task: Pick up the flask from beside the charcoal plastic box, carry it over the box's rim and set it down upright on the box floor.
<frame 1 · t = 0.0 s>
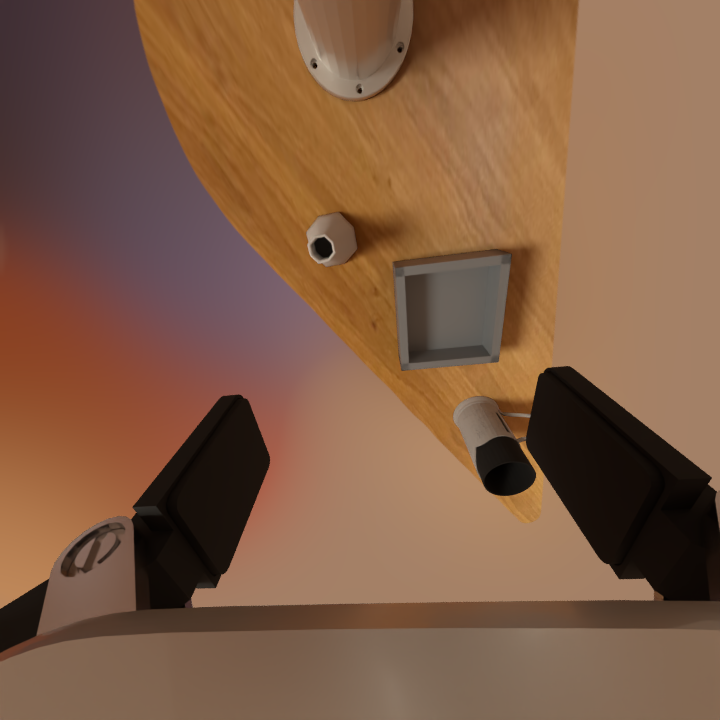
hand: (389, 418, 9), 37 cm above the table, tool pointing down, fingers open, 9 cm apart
grey mug: (488, 407, 54), on the table
flask: (332, 240, 41), on the table
charcoal box: (442, 307, 45), on the table
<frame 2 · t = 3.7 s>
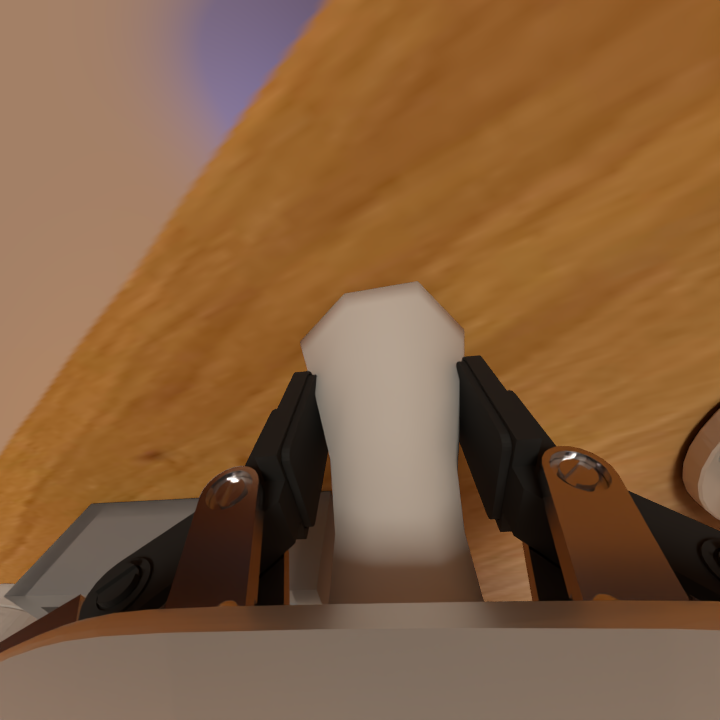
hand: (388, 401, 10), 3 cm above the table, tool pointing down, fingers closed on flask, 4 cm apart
grey mug: (69, 615, 27), on the table
flask: (384, 360, 13), on the table, touching gripper
charcoal box: (243, 562, 21), on the table
when the fingers open (6 cm above the table, at t = 10.0 s): flask drops 2 cm, resting on charcoal box.
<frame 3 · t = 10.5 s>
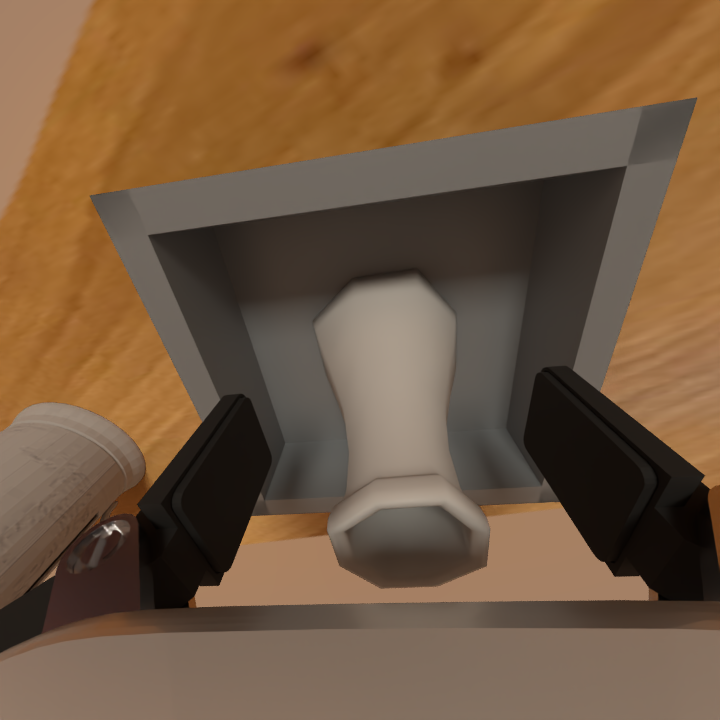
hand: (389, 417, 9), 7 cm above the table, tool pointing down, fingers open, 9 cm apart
grey mug: (119, 469, 22), on the table
flask: (386, 339, 15), point 1 cm above the table, touching charcoal box
charcoal box: (382, 336, 15), on the table
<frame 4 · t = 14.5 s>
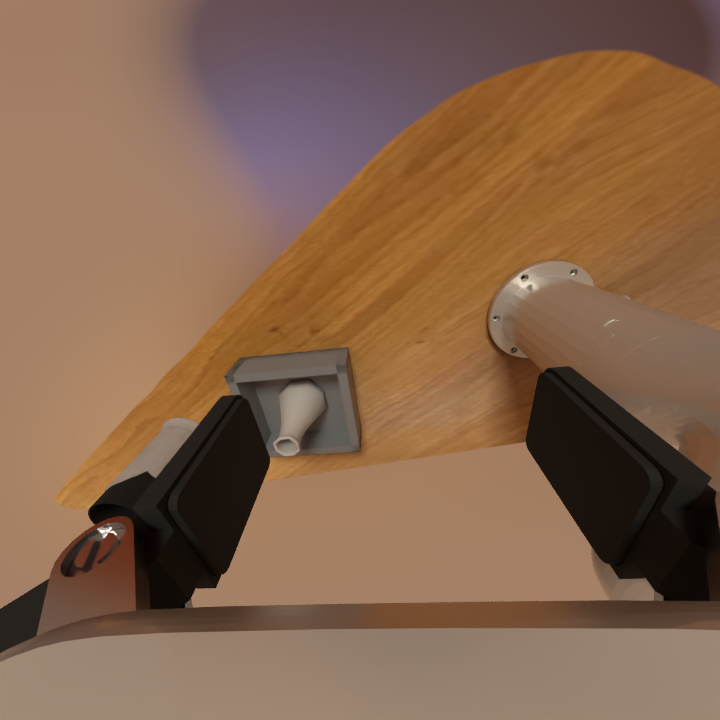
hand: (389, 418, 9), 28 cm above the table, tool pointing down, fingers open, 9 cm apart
grey mug: (200, 445, 50), on the table
flask: (304, 397, 43), point 1 cm above the table, touching charcoal box
charcoal box: (304, 395, 44), on the table
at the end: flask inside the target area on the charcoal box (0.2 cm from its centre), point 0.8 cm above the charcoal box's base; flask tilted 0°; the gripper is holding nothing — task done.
